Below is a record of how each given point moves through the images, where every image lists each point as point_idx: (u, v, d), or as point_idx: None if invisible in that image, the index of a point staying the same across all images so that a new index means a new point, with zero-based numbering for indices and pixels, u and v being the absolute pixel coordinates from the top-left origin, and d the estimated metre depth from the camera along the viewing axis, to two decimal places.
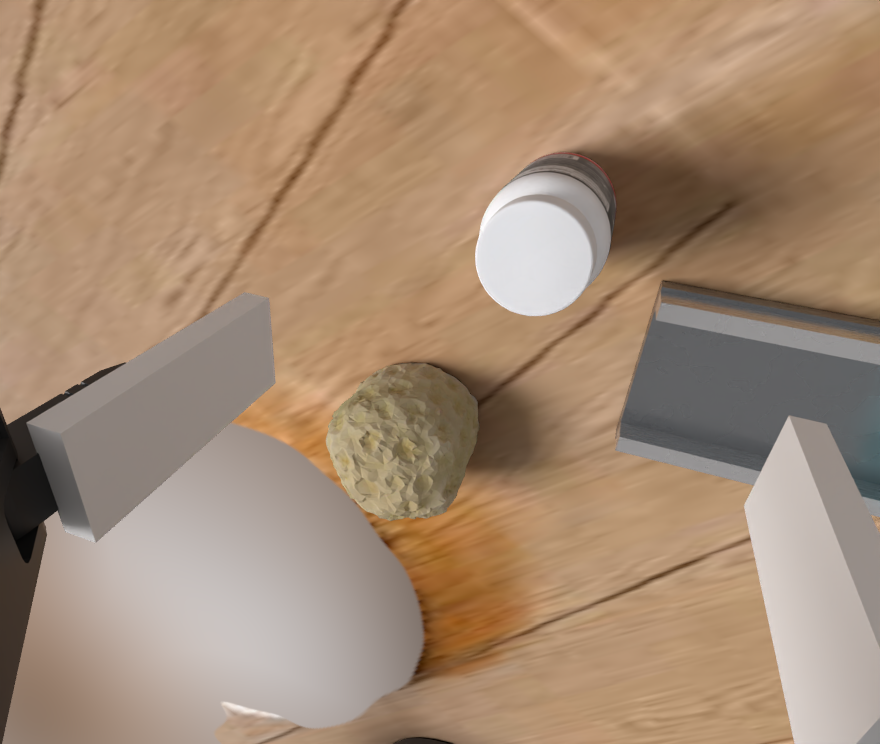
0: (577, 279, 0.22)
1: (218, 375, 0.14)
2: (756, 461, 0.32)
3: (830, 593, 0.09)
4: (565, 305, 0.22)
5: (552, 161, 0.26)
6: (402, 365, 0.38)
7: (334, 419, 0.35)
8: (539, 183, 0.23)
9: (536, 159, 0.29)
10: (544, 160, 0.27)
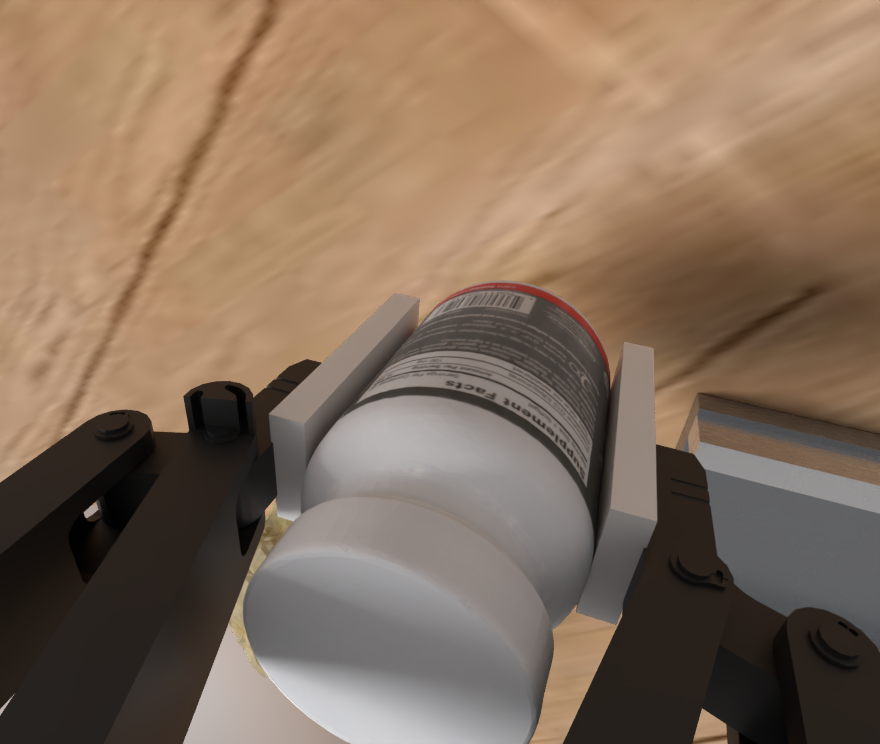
0: (498, 734, 0.08)
1: None
2: None
3: (608, 460, 0.11)
4: None
5: (472, 327, 0.12)
6: None
7: None
8: (410, 439, 0.09)
9: (457, 292, 0.15)
10: (460, 315, 0.13)
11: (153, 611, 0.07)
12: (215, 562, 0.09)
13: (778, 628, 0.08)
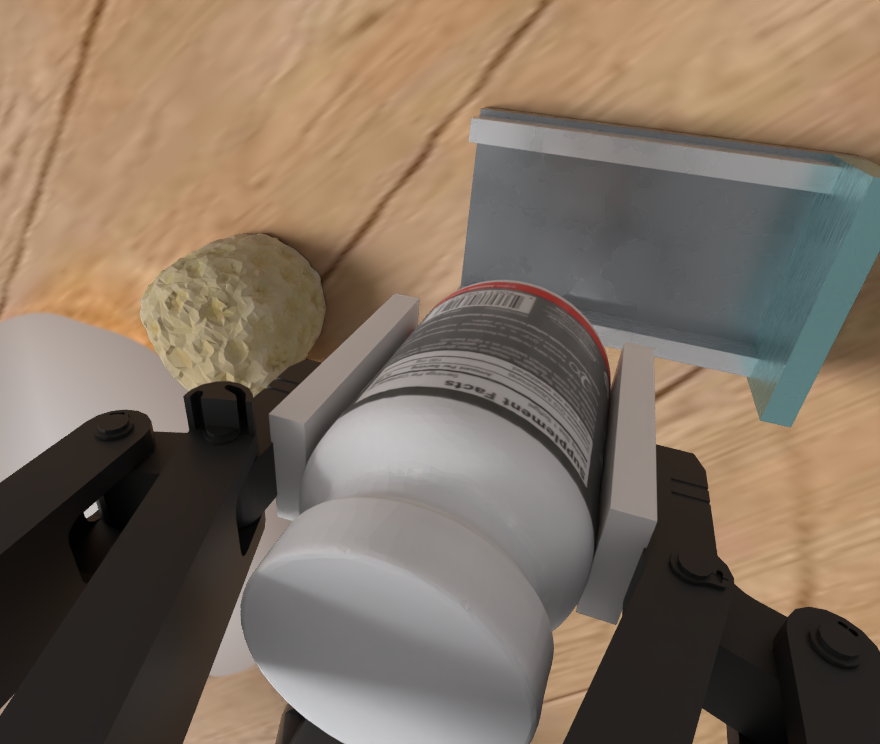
0: (497, 737, 0.08)
1: None
2: (600, 318, 0.28)
3: (608, 460, 0.11)
4: None
5: (471, 326, 0.12)
6: (236, 235, 0.34)
7: (149, 286, 0.32)
8: (409, 439, 0.09)
9: (456, 292, 0.15)
10: (460, 314, 0.13)
11: (153, 611, 0.07)
12: (215, 562, 0.09)
13: (778, 628, 0.08)
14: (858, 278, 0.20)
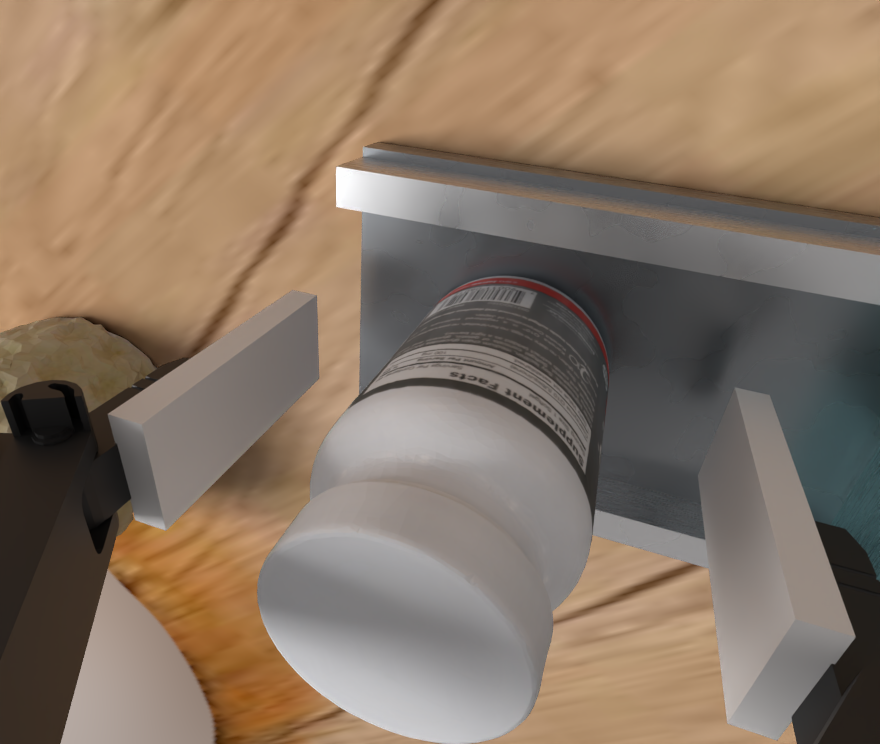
0: (500, 706, 0.08)
1: (272, 370, 0.14)
2: None
3: (754, 541, 0.10)
4: (476, 740, 0.09)
5: (474, 321, 0.13)
6: (42, 320, 0.23)
7: None
8: (416, 427, 0.09)
9: (460, 287, 0.15)
10: (463, 309, 0.13)
11: (3, 610, 0.07)
12: (67, 559, 0.09)
13: None
14: None
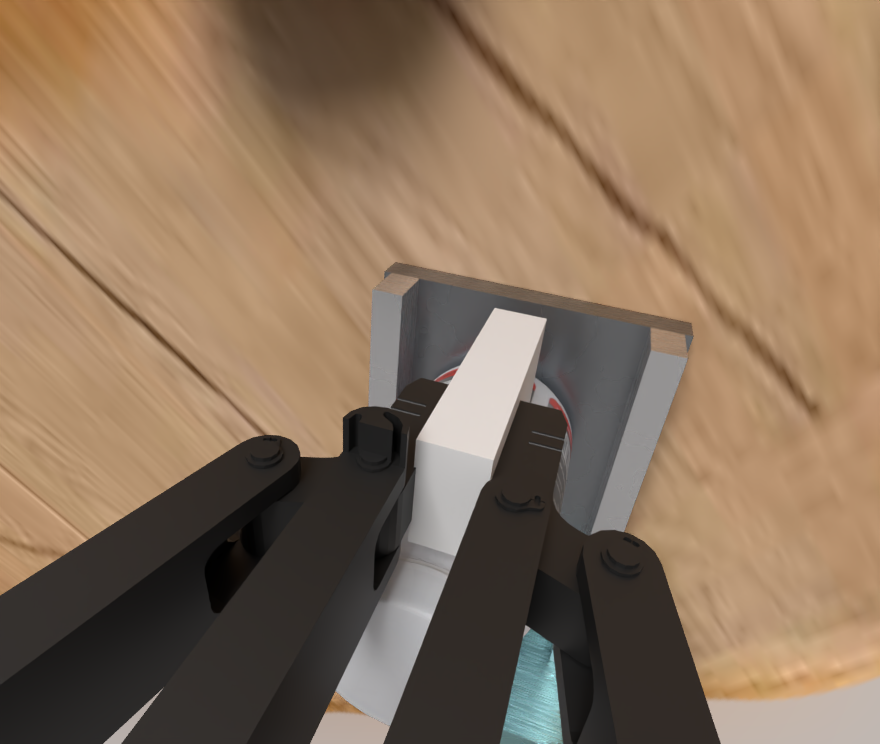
0: (380, 713, 0.14)
1: None
2: None
3: None
4: (336, 690, 0.14)
5: (561, 503, 0.17)
6: None
7: None
8: None
9: (565, 416, 0.19)
10: (563, 474, 0.17)
11: (285, 647, 0.07)
12: (348, 599, 0.09)
13: (580, 555, 0.09)
14: None
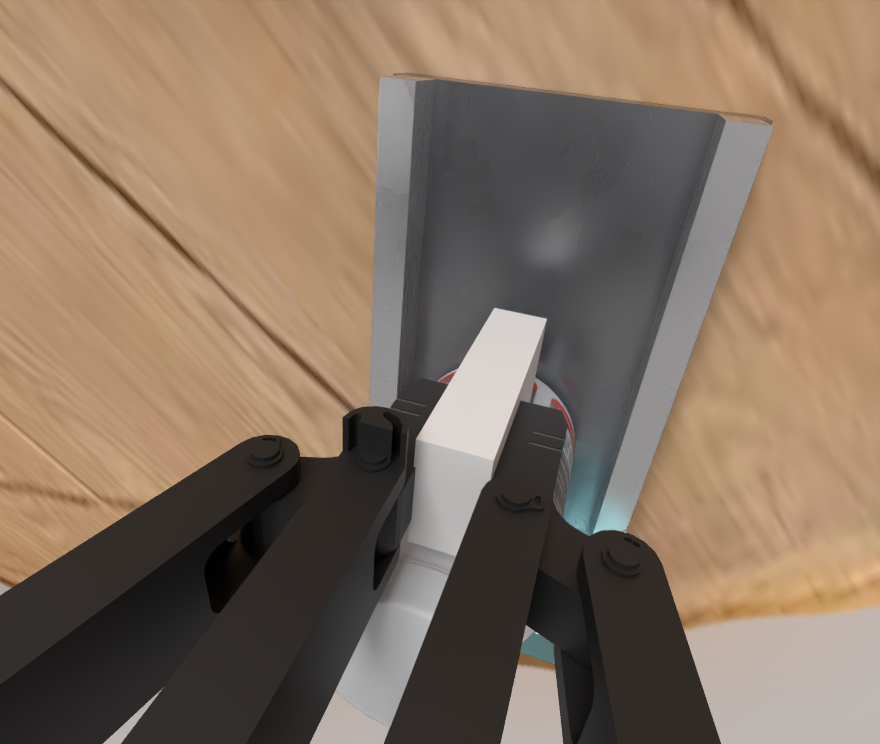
0: (384, 716, 0.14)
1: None
2: (409, 330, 0.19)
3: None
4: (340, 693, 0.14)
5: (564, 503, 0.17)
6: None
7: None
8: None
9: (567, 416, 0.19)
10: (566, 474, 0.17)
11: (284, 647, 0.07)
12: (348, 599, 0.09)
13: (580, 555, 0.09)
14: None
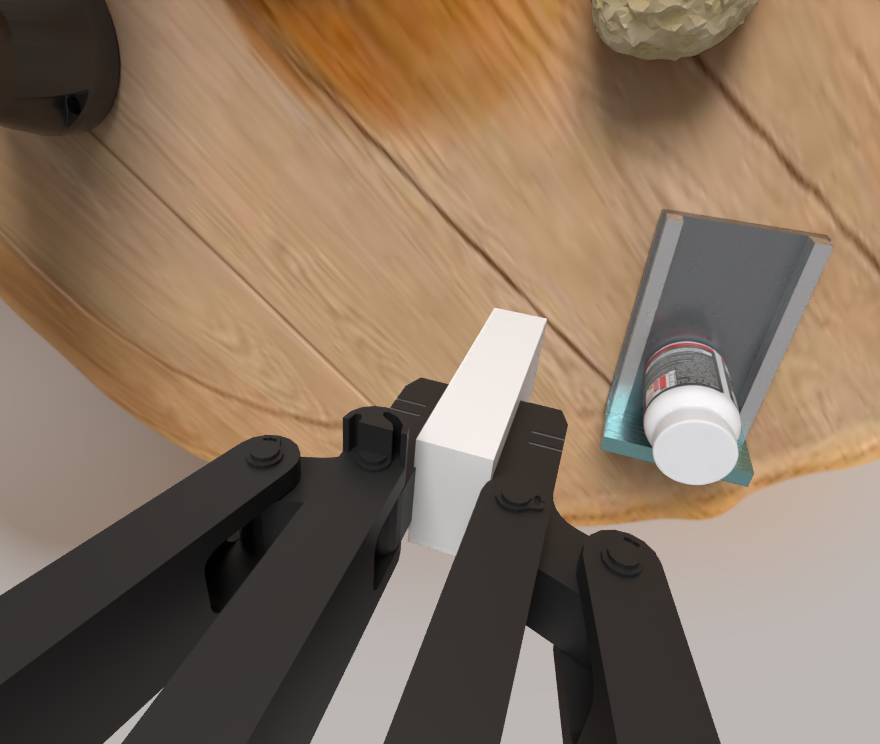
0: (678, 476, 0.34)
1: None
2: None
3: None
4: (660, 468, 0.35)
5: None
6: None
7: None
8: (736, 434, 0.34)
9: (726, 366, 0.40)
10: None
11: (285, 647, 0.07)
12: (348, 599, 0.09)
13: None
14: None
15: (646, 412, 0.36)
